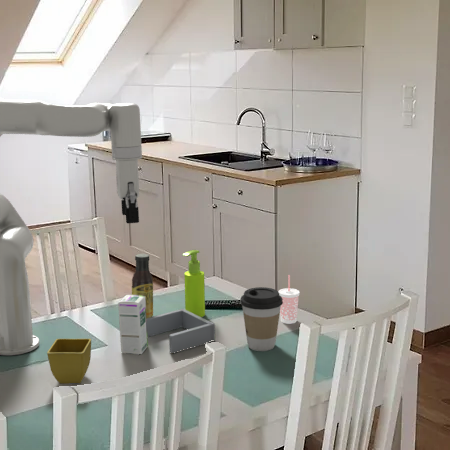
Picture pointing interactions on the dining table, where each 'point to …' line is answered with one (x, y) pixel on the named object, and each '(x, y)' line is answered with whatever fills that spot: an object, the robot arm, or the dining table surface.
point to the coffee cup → (261, 317)
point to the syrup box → (133, 324)
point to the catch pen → (194, 336)
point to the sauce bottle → (143, 282)
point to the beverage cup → (289, 304)
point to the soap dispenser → (194, 286)
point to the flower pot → (69, 359)
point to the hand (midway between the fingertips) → (130, 218)
